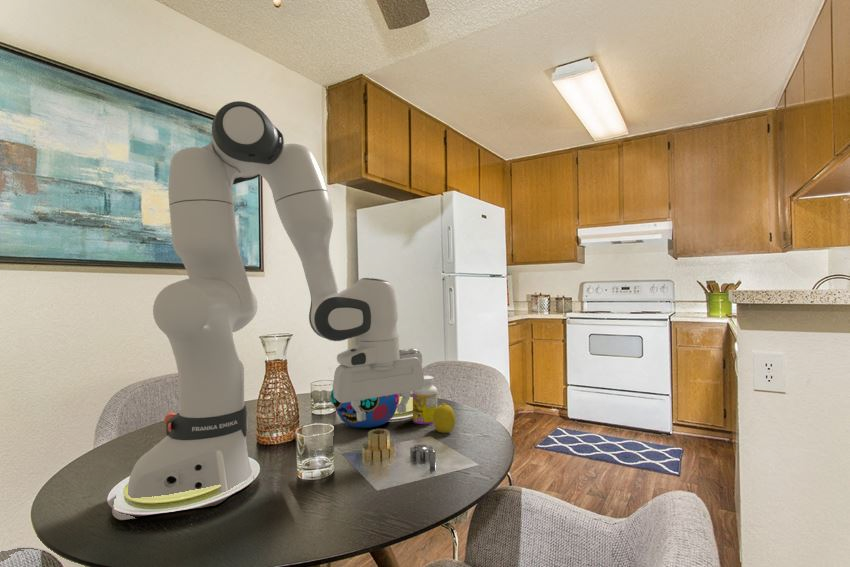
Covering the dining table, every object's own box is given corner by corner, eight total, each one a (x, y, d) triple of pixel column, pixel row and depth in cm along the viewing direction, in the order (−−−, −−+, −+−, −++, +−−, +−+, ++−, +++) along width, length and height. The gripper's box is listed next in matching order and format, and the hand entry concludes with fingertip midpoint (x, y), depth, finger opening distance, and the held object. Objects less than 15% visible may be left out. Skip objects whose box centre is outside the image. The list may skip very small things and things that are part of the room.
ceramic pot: (320, 432, 111) (319, 374, 111) (356, 414, 128) (356, 363, 128) (379, 440, 104) (379, 378, 105) (410, 420, 121) (409, 366, 121)
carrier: (376, 497, 76) (376, 470, 76) (341, 459, 93) (341, 437, 93) (479, 470, 86) (479, 447, 86) (430, 441, 104) (430, 421, 104)
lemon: (455, 431, 110) (455, 400, 110) (455, 439, 105) (454, 406, 105) (434, 431, 111) (433, 400, 111) (432, 438, 105) (431, 406, 105)
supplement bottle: (408, 423, 118) (407, 376, 118) (429, 419, 121) (428, 373, 121) (420, 430, 112) (420, 380, 112) (442, 425, 115) (441, 377, 116)
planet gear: (369, 462, 88) (369, 439, 88) (358, 451, 94) (357, 430, 94) (400, 455, 92) (400, 433, 92) (387, 445, 98) (387, 425, 98)
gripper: (414, 346, 101) (417, 405, 101) (329, 356, 92) (332, 421, 91) (427, 348, 96) (430, 411, 96) (338, 359, 86) (341, 429, 86)
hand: (382, 416), depth 93 cm, fingers open, 8 cm apart
